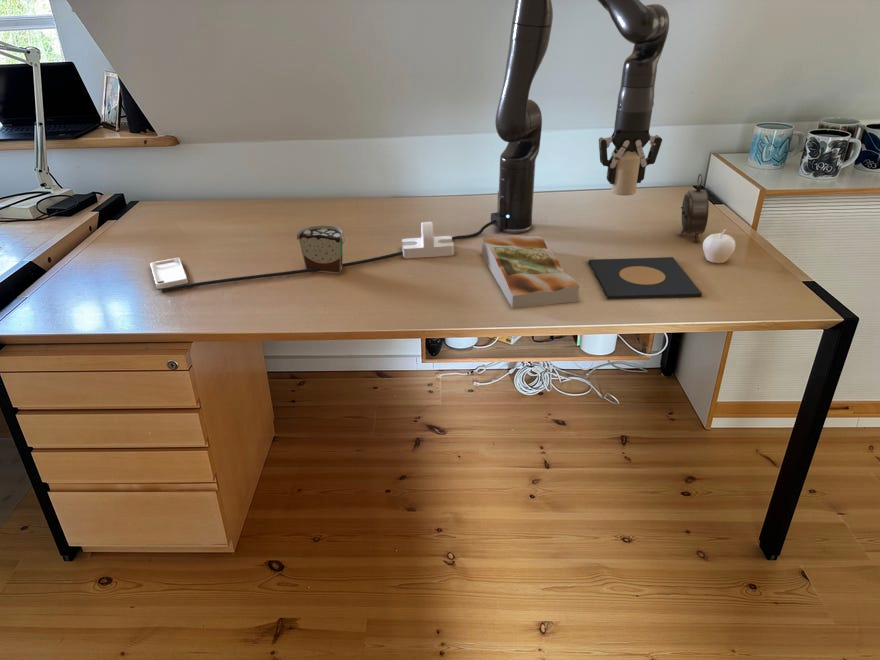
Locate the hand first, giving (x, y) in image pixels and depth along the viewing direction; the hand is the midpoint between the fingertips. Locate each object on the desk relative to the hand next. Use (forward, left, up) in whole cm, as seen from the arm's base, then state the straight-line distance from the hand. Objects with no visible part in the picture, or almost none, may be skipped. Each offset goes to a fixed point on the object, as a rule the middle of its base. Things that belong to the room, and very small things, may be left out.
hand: (624, 182), depth 156 cm
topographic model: (-23, -11, -18) cm, 32 cm away
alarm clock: (+22, +11, -18) cm, 30 cm away
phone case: (-111, -4, -18) cm, 113 cm away
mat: (+3, -14, -18) cm, 23 cm away
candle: (0, 0, -2) cm, 2 cm away
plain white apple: (+23, -5, -18) cm, 30 cm away
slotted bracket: (-46, +6, -18) cm, 50 cm away
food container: (-71, -2, -18) cm, 74 cm away
